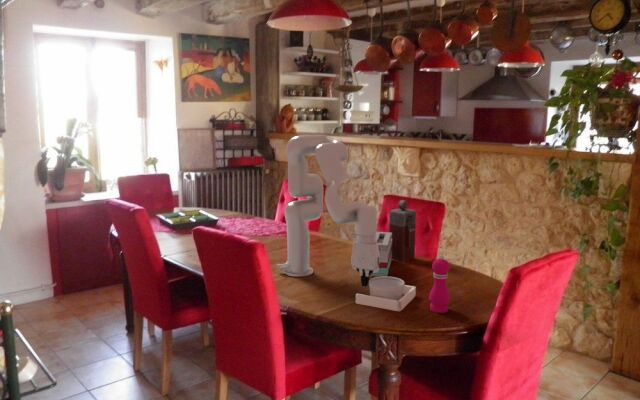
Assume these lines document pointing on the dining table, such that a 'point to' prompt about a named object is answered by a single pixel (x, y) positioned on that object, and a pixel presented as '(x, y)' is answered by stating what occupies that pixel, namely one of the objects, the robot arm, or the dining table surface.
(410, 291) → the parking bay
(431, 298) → the pepper mill
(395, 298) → the ramekin
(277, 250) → the dining table surface
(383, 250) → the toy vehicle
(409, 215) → the square decanter
